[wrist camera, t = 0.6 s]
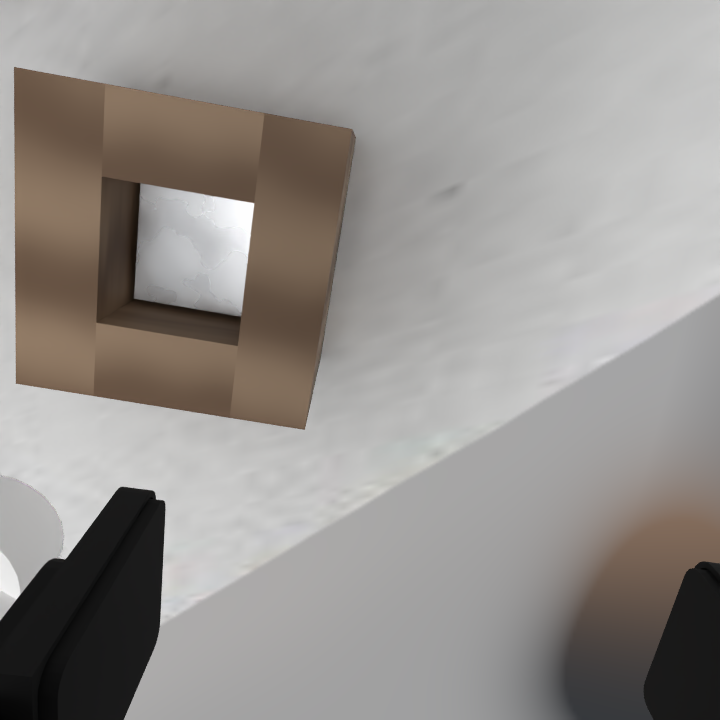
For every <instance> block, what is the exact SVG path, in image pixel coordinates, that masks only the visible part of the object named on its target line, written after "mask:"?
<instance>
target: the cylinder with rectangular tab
mask: <svg viewBox="0 0 720 720" xmlns="http://www.w3.org/2000/svg"><path fill="white" fill-rule="evenodd" d="M63 541H64V533H63V527H62V522H61V520H60V518H59V516H58V514H57V512H56V510H55V508H54V507H53V506H52V505H51V503H50V502H49V501H48V500H47V499H46V497H45V496H44V495H42V494H41V493H40V492H38V491H37V490H36V489H34V488H33V487H32V486H30V485H28V484H26V483H23V482H21V481H19V480H17V479H14V478H10V477H5V476H1V475H0V620H1V619H2V617H3V616H4V615H5V614H6V612H7V611H8V610H9V609H10V607H11V606H12V605H13V603H14V602H15V601H16V600H17V598H18V597H19V596H20V595H21V593H22V592H23V591H24V589H25V588H26V587H27V586H28V584H29V583H30V582H31V581H32V579H33V578H34V577H35V575H36V574H37V573H38V572H39V570H40V569H41V568H42V567H43V566H44V565H45V564H46V563H47V562H48V560H51V559H53V558H57V559H58V557H59V555H60V553H61V551H62V549H63Z"/></svg>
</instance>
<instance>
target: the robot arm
mask: <svg viewBox="0 0 720 720" xmlns="http://www.w3.org/2000/svg"><path fill="white" fill-rule="evenodd" d="M164 527H165V502H164V501H162V500H156V496H155V492H154V491H151V490H143V489H135V488H128V487H120V488H119V489H118V490H117V491H116V492H115V494H114V495H113V496H112V498H111V499H110V500H109V502H108V503H107V504H106V506H105V507H104V509H103V510H102V511H101V513H100V514H99V515H98V517H97V518H96V519H95V521H94V522H93V523H92V525H91V526H90V527H89V529H88V530H87V531H86V533H85V534H84V536H83V537H82V538H81V540H80V541H79V542H78V544H77V545H76V546H75V548H74V549H73V550H72V552H71V553H70V554H69V556H68V557H67V558H66V560H65V559H57V558H53V559H51V560H48V562H47V563H46V564H45V565H44V566H43V567H42V568H41V569H40V570H39V572H38V573H37V574H36V575H35V577H34V578H33V579H32V581H31V582H30V583H29V584H28V586H27V587H26V588H25V589H24V591H23V592H22V593H21V595H20V596H19V597H18V598H17V600H16V601H15V602H14V603H13V605H12V606H11V607H10V609H9V610H8V611H7V612H6V614H5V615H4V616H3V617H2V619H1V620H0V720H124V718H125V715H126V713H127V710H128V708H129V706H130V704H131V701H132V699H133V697H134V694H135V692H136V689H137V687H138V685H139V682H140V680H141V678H142V675H143V673H144V671H145V669H146V666H147V664H148V662H149V659H150V657H151V655H152V652H153V650H154V647H155V645H156V641H157V637H158V633H159V628H160V612H161V591H162V570H163V548H164ZM644 698H645V702H646V705H647V708H648V710H649V712H650V714H651V715H652V717H653V719H654V720H720V564H719V563H711V562H700V563H698V564H697V565H696V566H695V568H692V569H689V570H688V571H687V572H686V574H685V576H684V579H683V581H682V584H681V587H680V589H679V592H678V595H677V597H676V600H675V603H674V605H673V608H672V611H671V614H670V616H669V619H668V621H667V624H666V627H665V629H664V632H663V635H662V638H661V640H660V643H659V645H658V648H657V651H656V654H655V657H654V659H653V661H652V664H651V667H650V669H649V672H648V675H647V678H646V680H645V684H644Z"/></svg>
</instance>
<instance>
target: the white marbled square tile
mask: <svg viewBox="0 0 720 720" xmlns="http://www.w3.org/2000/svg"><path fill="white" fill-rule="evenodd" d="M253 209H254V203H249V202H244V201H238V200H232V199H227V198H221V197H215V196H210V195H204V194H198V193H193V192H187V191H181V190H176V189H170V188H164V187H159V186H153V185H147V184H142V183H141V184H140V202H139V220H138V237H137V255H136V272H135V290H134V299H139V300H145V301H151V302H157V303H163V304H169V305H175V306H181V307H187V308H193V309H199V310H204V311H210V312H216V313H222V314H228V315H234V316H240V317H241V314H242V305H243V297H244V288H245V279H246V270H247V262H248V253H249V244H250V235H251V227H252V218H253Z"/></svg>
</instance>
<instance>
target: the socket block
mask: <svg viewBox="0 0 720 720" xmlns="http://www.w3.org/2000/svg"><path fill="white" fill-rule="evenodd" d="M14 125H15V300H16V384H22V385H29V386H35V387H41V388H47V389H54V390H60V391H66V392H72V393H79V394H85V395H91V396H97V397H104V398H110V399H116V400H122V401H129V402H135V403H141V404H147V405H154V406H160V407H166V408H172V409H179V410H185V411H191V412H197V413H203V414H210V415H216V416H222V417H228V418H235V419H241V420H247V421H253V422H260V423H266V424H272V425H278V426H285V427H291V428H297V429H303V430H305V426H306V422H307V417H308V413H309V408H310V403H311V399H312V394H313V390H314V385H315V381H316V376H317V372H318V367H319V363H320V358H321V351H322V345H323V339H324V333H325V326H326V320H327V314H328V308H329V301H330V295H331V289H332V283H333V276H334V270H335V264H336V258H337V251H338V245H339V239H340V233H341V227H342V220H343V214H344V208H345V202H346V195H347V189H348V183H349V177H350V170H351V164H352V158H353V152H354V145H355V139H356V137H355V135H354V132H353V130H352V129H348V128H342V127H337V126H331V125H326V124H320V123H315V122H310V121H304V120H299V119H293V118H288V117H282V116H277V115H272V114H266V113H261V112H255V111H250V110H244V109H239V108H233V107H228V106H223V105H217V104H212V103H206V102H201V101H195V100H190V99H185V98H179V97H174V96H168V95H163V94H157V93H152V92H147V91H141V90H136V89H130V88H125V87H119V86H114V85H108V84H103V83H98V82H92V81H87V80H81V79H76V78H70V77H65V76H60V75H54V74H49V73H43V72H38V71H32V70H27V69H22V68H16V67H14ZM141 183H142V184H147V185H153V186H159V187H164V188H170V189H176V190H181V191H187V192H193V193H198V194H204V195H210V196H215V197H221V198H227V199H232V200H238V201H244V202H249V203H254V209H253V218H252V227H251V235H250V244H249V253H248V262H247V270H246V279H245V288H244V297H243V305H242V314H241V317H240V316H234V315H228V314H222V313H216V312H210V311H204V310H199V309H193V308H187V307H181V306H175V305H169V304H163V303H157V302H151V301H145V300H139V299H134V290H135V272H136V255H137V237H138V220H139V202H140V184H141Z"/></svg>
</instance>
